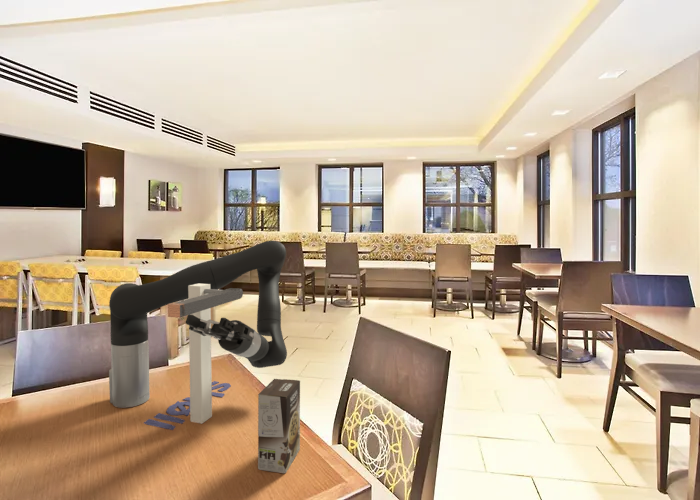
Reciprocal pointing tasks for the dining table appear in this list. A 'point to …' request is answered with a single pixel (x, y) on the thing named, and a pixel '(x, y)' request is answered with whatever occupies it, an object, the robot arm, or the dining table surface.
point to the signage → (182, 409)
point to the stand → (200, 362)
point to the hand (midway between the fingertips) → (204, 320)
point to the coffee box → (278, 425)
